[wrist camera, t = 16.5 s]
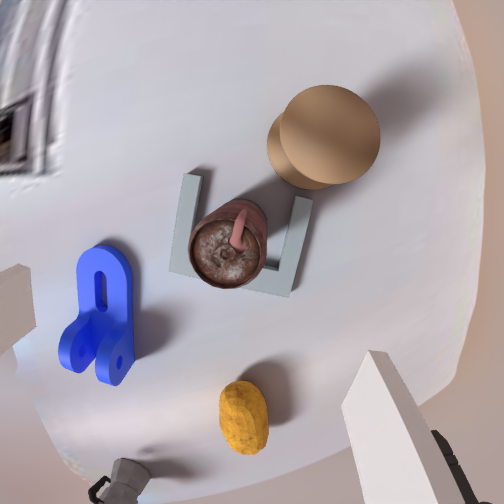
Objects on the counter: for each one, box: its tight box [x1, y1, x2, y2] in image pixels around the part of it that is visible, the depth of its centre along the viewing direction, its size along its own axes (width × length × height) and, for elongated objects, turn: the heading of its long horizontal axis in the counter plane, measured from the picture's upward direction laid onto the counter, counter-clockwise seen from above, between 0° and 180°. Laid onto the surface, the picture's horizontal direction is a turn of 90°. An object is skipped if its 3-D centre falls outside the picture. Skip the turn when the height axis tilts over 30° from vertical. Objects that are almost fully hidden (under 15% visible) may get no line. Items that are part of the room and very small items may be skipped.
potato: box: [219, 380, 269, 454], centre depth 39 cm, size 7×14×7 cm, turn 4°
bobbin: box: [267, 85, 380, 190], centre depth 27 cm, size 10×10×12 cm
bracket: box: [58, 245, 135, 386], centre depth 35 cm, size 18×8×9 cm, turn 172°
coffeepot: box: [88, 459, 151, 504], centre depth 42 cm, size 15×9×18 cm, turn 19°
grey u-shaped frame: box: [169, 174, 314, 298], centre depth 35 cm, size 12×15×2 cm
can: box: [188, 199, 267, 289], centre depth 29 cm, size 6×6×14 cm
